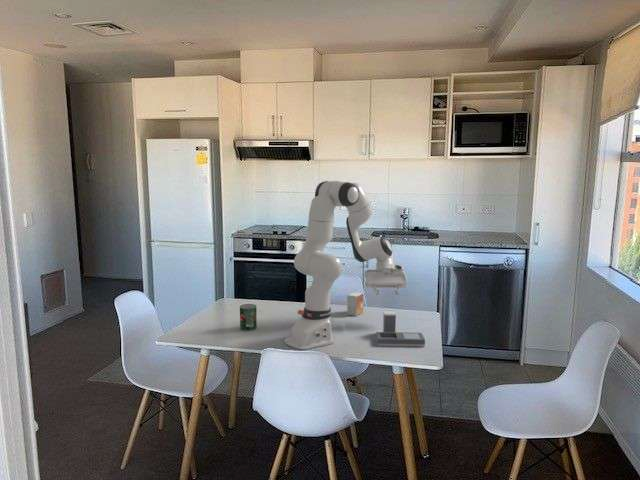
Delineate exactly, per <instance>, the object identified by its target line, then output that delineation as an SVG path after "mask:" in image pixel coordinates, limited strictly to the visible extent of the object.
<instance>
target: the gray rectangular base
mask: <svg viewBox="0 0 640 480" xmlns="http://www.w3.org/2000/svg"><path fill="white" fill-rule="evenodd" d="M375 340H376V345H377V346H378V347H379V346H380V347H426V346H425V344H426V339H425V337H424V335H423V333H422V332H404V331H402V332H400V331H399V332H377V331H376V333H375Z"/></svg>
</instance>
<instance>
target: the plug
mask: <svg viewBox="0 0 640 480" xmlns="http://www.w3.org/2000/svg"><path fill="white" fill-rule="evenodd" d="M382 315H383V319H382V321H383V322H382V330H383V332H395V330H396V324H397V323H396V318H397V315H396V312H395V311H394V310H385V311H384V310H383V314H382Z"/></svg>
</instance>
